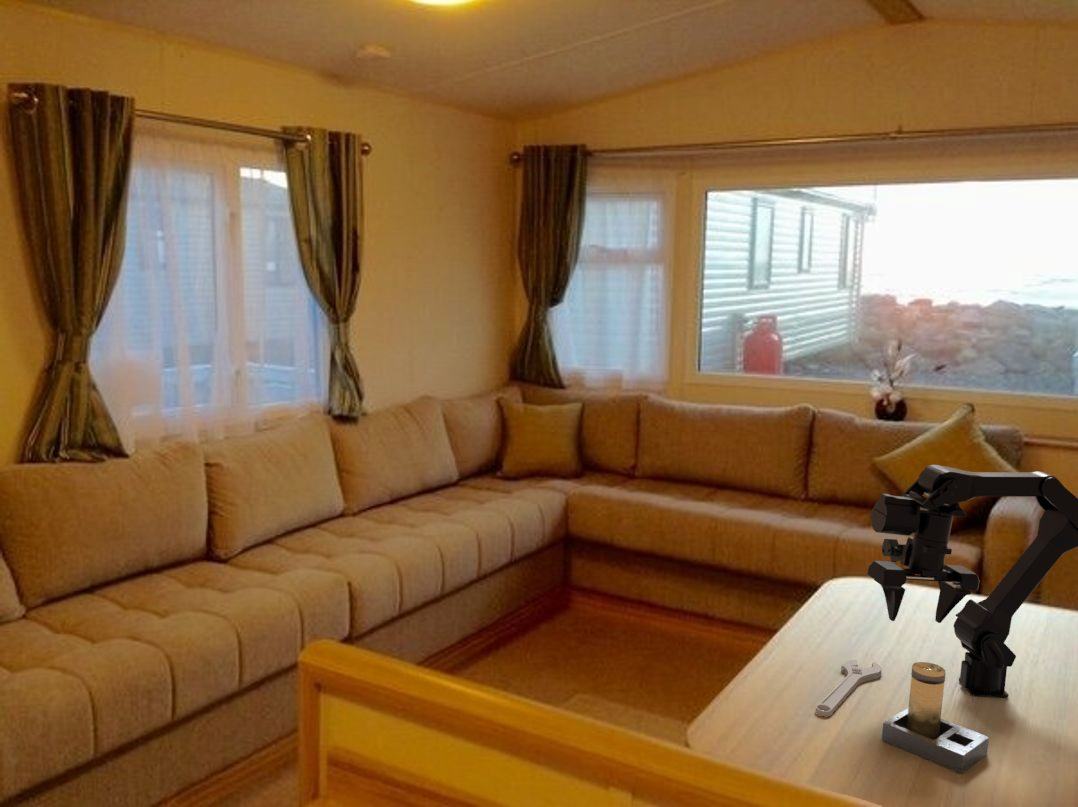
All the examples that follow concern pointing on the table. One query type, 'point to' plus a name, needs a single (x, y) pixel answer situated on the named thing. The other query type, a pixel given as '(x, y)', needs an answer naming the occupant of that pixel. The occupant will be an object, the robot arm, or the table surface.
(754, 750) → the table surface
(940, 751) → the grey rectangular holder
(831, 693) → the adjustable wrench
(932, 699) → the gold tin can
